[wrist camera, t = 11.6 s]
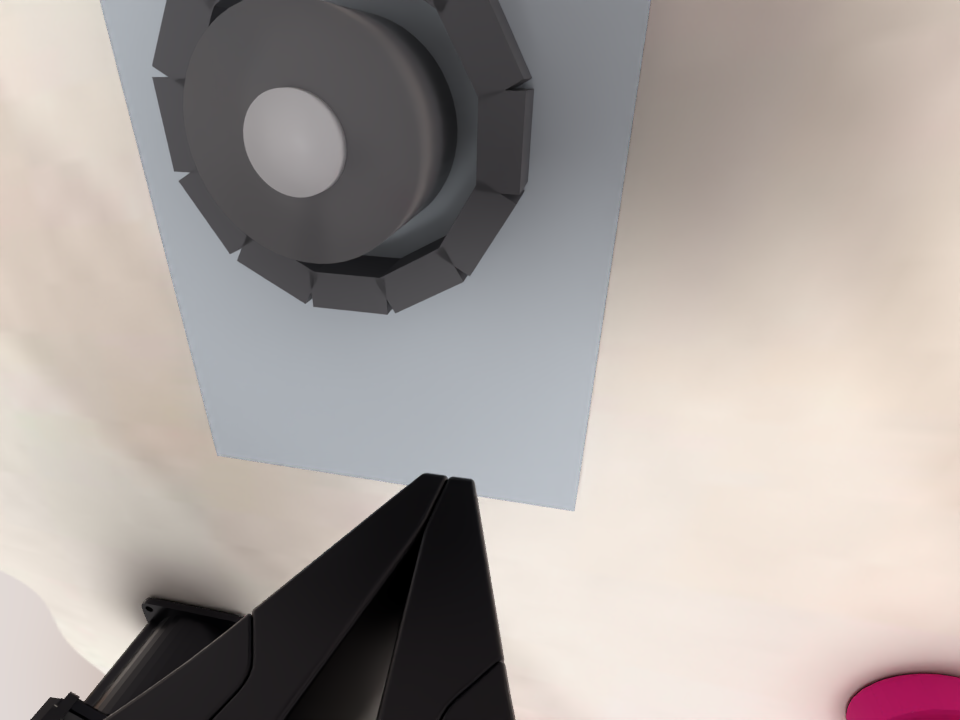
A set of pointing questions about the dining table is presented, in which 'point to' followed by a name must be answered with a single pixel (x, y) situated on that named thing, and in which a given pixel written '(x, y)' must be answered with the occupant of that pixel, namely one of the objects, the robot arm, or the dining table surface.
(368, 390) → the barrel board
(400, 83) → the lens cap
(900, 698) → the pepper mill
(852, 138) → the dining table surface
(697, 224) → the dining table surface
